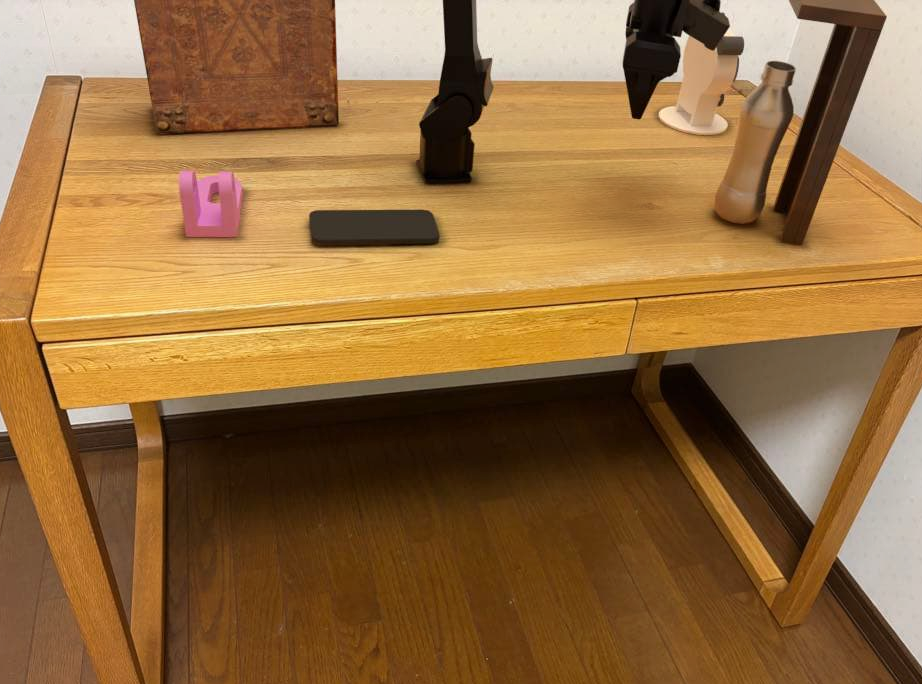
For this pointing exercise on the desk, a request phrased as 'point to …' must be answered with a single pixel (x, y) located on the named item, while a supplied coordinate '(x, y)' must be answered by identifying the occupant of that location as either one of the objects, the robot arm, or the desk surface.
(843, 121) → the dark wooden stand
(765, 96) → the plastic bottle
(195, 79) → the book
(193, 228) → the bracket
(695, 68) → the beige rounded piece
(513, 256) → the desk surface
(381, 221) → the phone
